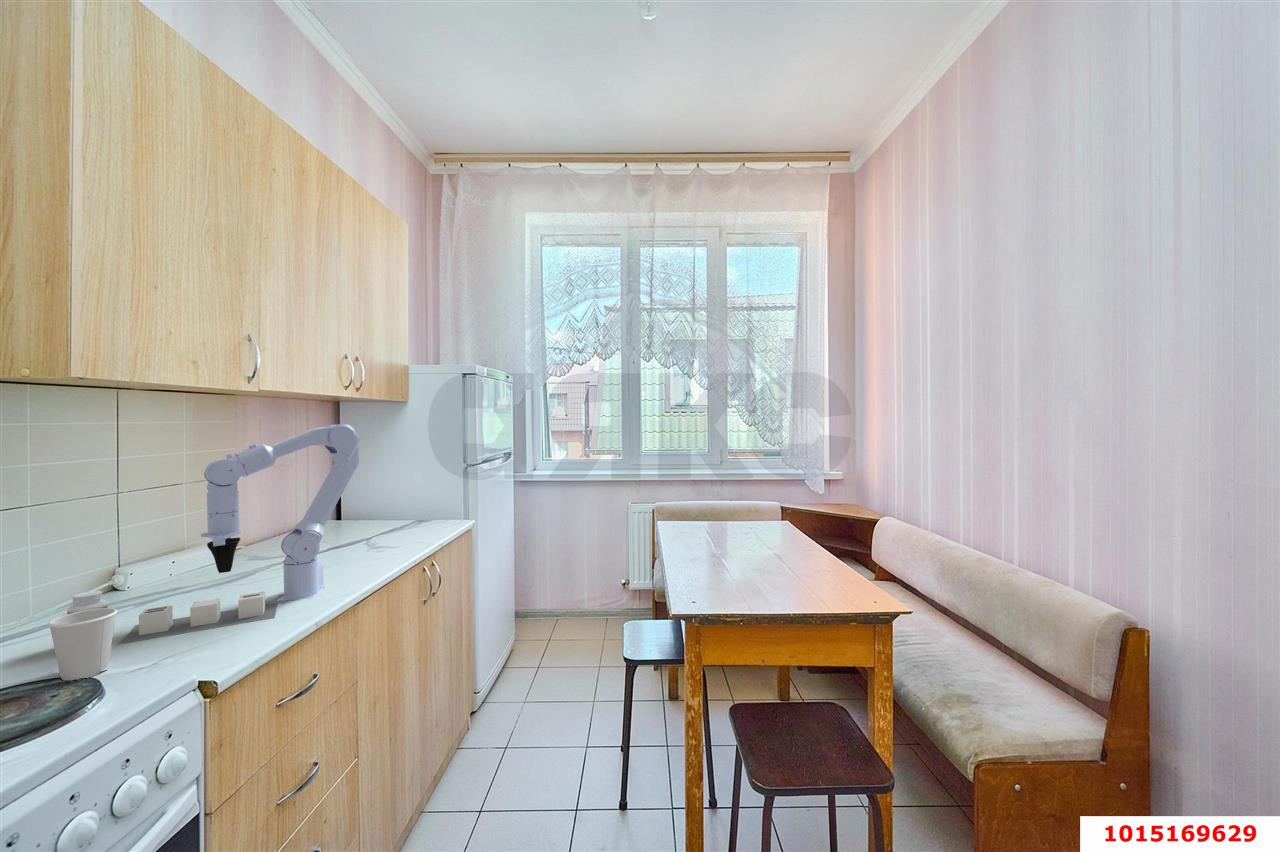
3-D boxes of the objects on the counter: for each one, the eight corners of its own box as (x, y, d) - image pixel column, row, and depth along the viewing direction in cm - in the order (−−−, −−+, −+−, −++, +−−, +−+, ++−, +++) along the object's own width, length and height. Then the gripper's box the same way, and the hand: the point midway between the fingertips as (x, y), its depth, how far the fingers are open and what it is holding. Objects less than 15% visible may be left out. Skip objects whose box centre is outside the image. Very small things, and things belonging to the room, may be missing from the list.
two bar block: (145, 628, 112) (144, 608, 112) (172, 623, 114) (172, 604, 114) (139, 635, 108) (138, 614, 108) (167, 630, 110) (167, 610, 110)
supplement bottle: (63, 654, 101) (62, 600, 101) (73, 644, 106) (71, 592, 106) (104, 647, 104) (103, 594, 104) (112, 637, 109) (110, 587, 109)
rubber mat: (278, 605, 127) (277, 602, 127) (274, 620, 116) (274, 617, 116) (136, 627, 114) (136, 625, 114) (118, 647, 104) (118, 644, 104)
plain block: (194, 620, 116) (194, 601, 116) (220, 616, 118) (220, 598, 118) (190, 626, 112) (190, 607, 112) (217, 622, 114) (216, 603, 114)
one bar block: (241, 613, 120) (240, 594, 120) (265, 609, 122) (264, 591, 122) (238, 618, 116) (238, 600, 116) (263, 614, 119) (262, 596, 119)
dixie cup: (91, 662, 97) (90, 607, 97) (132, 663, 96) (130, 608, 96) (34, 684, 89) (32, 624, 89) (78, 686, 88) (76, 625, 88)
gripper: (206, 509, 126) (208, 567, 126) (194, 518, 114) (196, 582, 114) (243, 507, 130) (245, 562, 130) (235, 515, 117) (237, 576, 117)
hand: (224, 571), depth 122 cm, fingers closed
